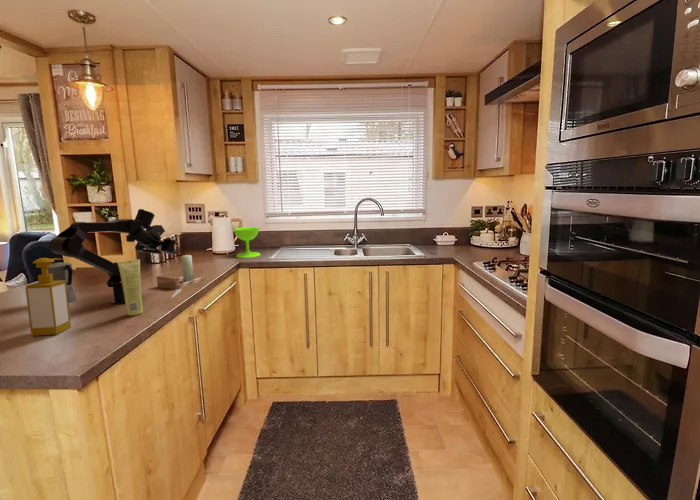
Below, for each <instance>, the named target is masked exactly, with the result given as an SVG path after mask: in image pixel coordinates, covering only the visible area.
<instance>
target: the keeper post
mask: <svg viewBox="0 0 700 500" xmlns="http://www.w3.org/2000/svg"><path fill="white" fill-rule="evenodd" d="M180 258H181V267H182V268H181V269H182V277H183V279H184V280H183V283H184V282H187V281H191V280H194V279H195V277H194V275H195V274H194V266H193V256H192V255H191V254H186V255H181V256H180Z"/></svg>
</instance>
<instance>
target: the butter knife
mask: <svg viewBox="0 0 700 500" xmlns="http://www.w3.org/2000/svg"><path fill="white" fill-rule="evenodd" d="M181 292H182V288H178V289H176V290H175V291H174V292H173V294H172V295H171V296H170V298H171V299H172V298H174V297H176V295H178V294H179V293H181Z"/></svg>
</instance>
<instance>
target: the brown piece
mask: <svg viewBox="0 0 700 500" xmlns="http://www.w3.org/2000/svg"><path fill="white" fill-rule="evenodd" d="M206 278H207V277H206V276H201V277H197V278H194V280H191V281H187V282H184V279H183V276H181V277H178V276H168V275H157V276H156V284H157V288H160V289H161V288H163V289H171V290H172V289H173V290H178V289H182V288H184V287H187V286H191V285H193V284H196V283H200V282H203V281H206V280H207V279H206ZM180 282H181V283H180Z"/></svg>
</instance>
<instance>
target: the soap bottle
mask: <svg viewBox="0 0 700 500" xmlns="http://www.w3.org/2000/svg"><path fill="white" fill-rule="evenodd" d="M55 260H59V261H63V260H64V258H60V257H53V258H50V257H49V258H48V257H40V258H38V259H36V260H33V261H32V264H35V267H36V268H38V269H39V268H40V271H41V274H38V275H37V280H38V281H37V282H34V283H30V284H27V285H24V287H25V295H26V303H27V311H28V318H29V319H28V320H29V327H30V335H31V336H32V337H33V336H34V337H35V336H50V335H58V334H60V333H63V332H65V331H66V330H68V329H70V328H72V323H71V314H70V313H71V312H70V305H69V303H68V295H67V286H66V282H65V281H66V280H60V281H53V275H52V274H48V267H51V266H52V264H53V262H54V263H55Z"/></svg>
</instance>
